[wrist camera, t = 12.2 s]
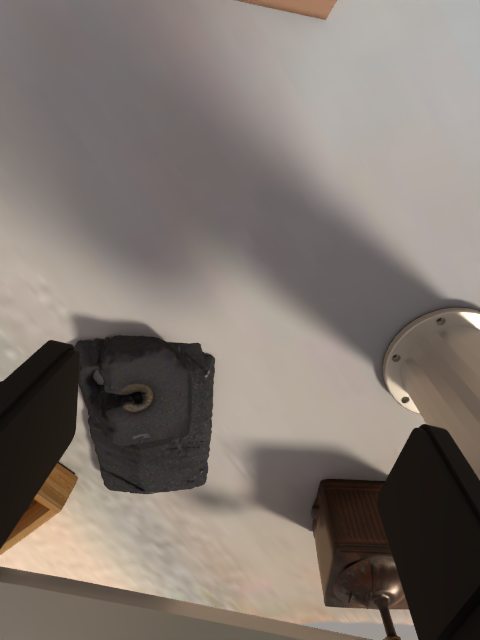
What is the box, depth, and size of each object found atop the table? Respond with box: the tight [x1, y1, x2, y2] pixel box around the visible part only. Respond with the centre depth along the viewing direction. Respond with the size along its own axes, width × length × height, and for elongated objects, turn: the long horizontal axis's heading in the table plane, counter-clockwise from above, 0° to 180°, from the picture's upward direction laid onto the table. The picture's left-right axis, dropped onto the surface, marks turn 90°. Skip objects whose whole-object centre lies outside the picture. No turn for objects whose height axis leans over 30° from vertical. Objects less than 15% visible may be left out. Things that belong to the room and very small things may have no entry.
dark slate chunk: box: [74, 335, 215, 494], centre depth 43 cm, size 15×22×5 cm
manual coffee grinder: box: [312, 479, 409, 640], centre depth 43 cm, size 16×11×18 cm
